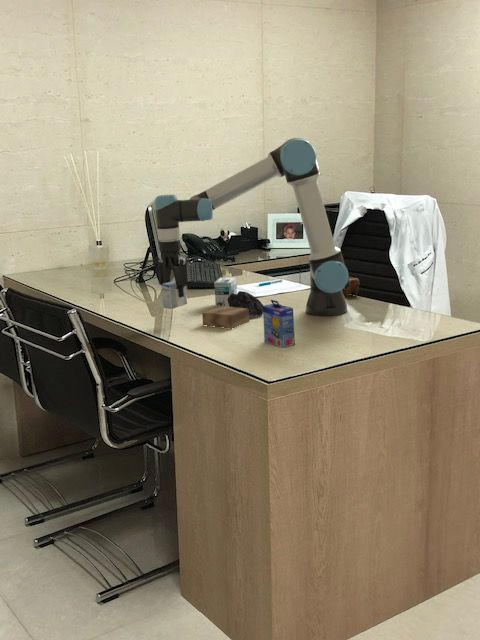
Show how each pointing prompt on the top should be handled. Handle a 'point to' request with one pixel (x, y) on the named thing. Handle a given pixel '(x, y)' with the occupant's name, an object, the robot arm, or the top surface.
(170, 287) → the medicine box
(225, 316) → the walnut desk box
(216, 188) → the robot arm
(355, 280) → the decorative turtle
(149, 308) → the top surface
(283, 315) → the ink cartridge box
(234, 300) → the black rock
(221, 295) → the light bulb box
